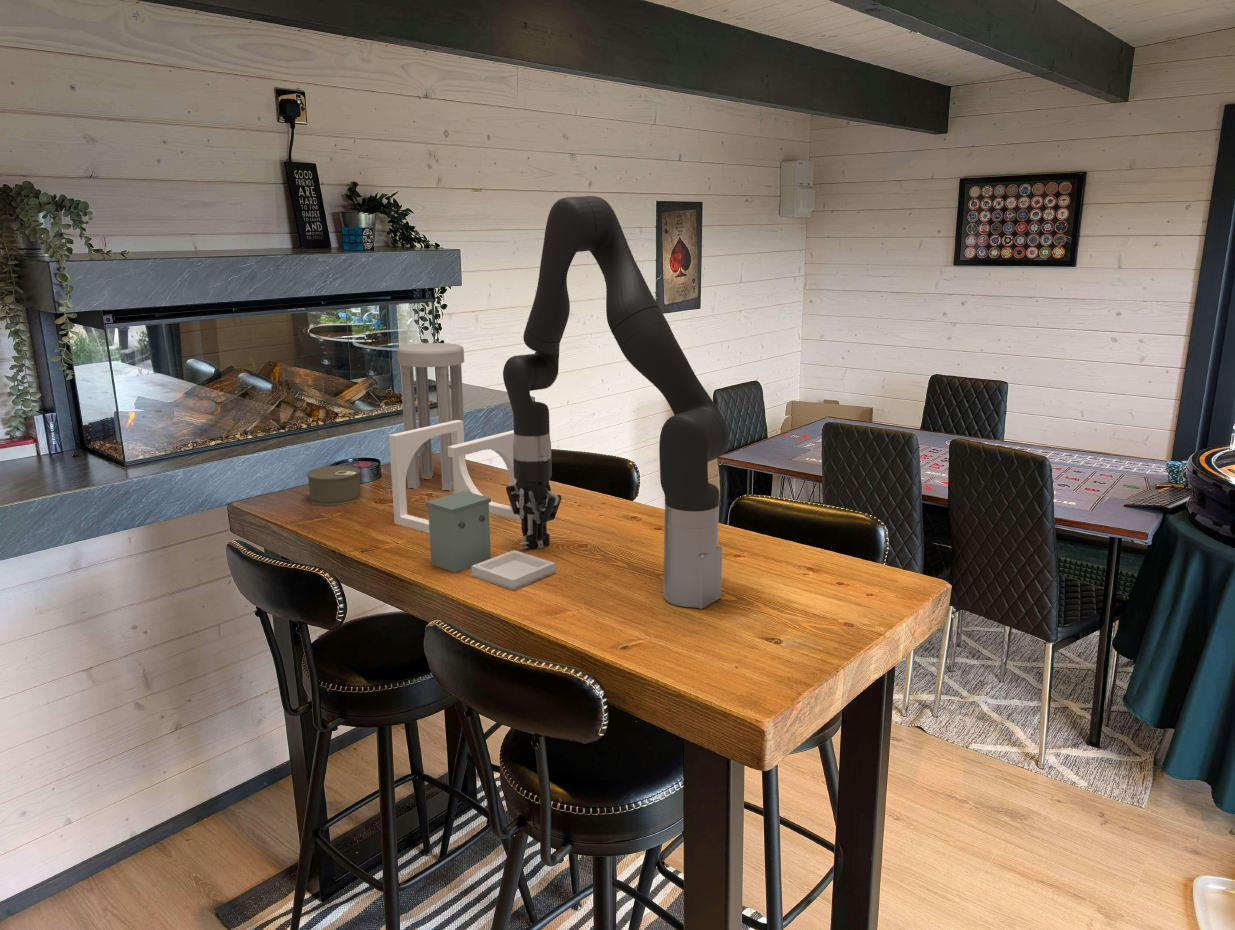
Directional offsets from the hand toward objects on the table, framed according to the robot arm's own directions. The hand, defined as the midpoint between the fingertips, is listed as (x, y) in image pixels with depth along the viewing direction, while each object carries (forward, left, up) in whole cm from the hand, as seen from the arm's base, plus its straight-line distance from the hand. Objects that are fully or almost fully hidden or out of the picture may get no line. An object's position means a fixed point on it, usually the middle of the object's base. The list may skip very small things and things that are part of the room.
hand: (534, 537), depth 178 cm
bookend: (+25, -2, -2) cm, 25 cm away
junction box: (+5, +15, -2) cm, 16 cm away
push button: (0, 0, -2) cm, 2 cm away
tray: (-7, +13, -2) cm, 15 cm away
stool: (+52, -18, -2) cm, 55 cm away
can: (+61, +6, -2) cm, 61 cm away
